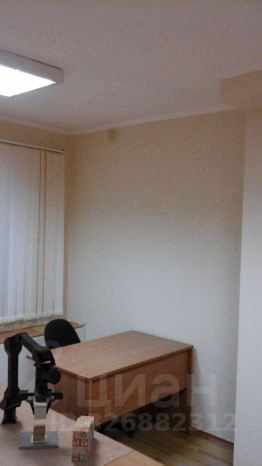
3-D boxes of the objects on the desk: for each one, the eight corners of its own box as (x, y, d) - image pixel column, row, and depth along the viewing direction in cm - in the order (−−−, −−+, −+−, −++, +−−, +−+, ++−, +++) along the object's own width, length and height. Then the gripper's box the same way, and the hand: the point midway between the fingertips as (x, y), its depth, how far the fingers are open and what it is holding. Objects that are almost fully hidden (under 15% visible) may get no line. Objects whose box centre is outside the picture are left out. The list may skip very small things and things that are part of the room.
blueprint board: (20, 434, 190) (20, 432, 190) (57, 433, 193) (57, 430, 193) (18, 449, 177) (18, 446, 177) (58, 447, 180) (58, 444, 180)
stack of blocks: (80, 436, 191) (81, 408, 191) (94, 437, 191) (95, 409, 191) (71, 461, 170) (72, 430, 170) (87, 462, 170) (88, 431, 170)
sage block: (34, 414, 187) (34, 403, 187) (46, 414, 188) (46, 403, 188) (34, 419, 182) (34, 407, 182) (46, 419, 183) (46, 407, 183)
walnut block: (33, 435, 187) (33, 424, 187) (44, 435, 188) (45, 424, 188) (32, 441, 182) (33, 429, 182) (44, 440, 183) (45, 429, 183)
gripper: (18, 385, 176) (16, 423, 176) (64, 384, 179) (62, 421, 179) (19, 376, 187) (18, 412, 187) (63, 375, 190) (61, 411, 190)
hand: (40, 414), depth 185 cm, fingers closed on sage block, 5 cm apart
